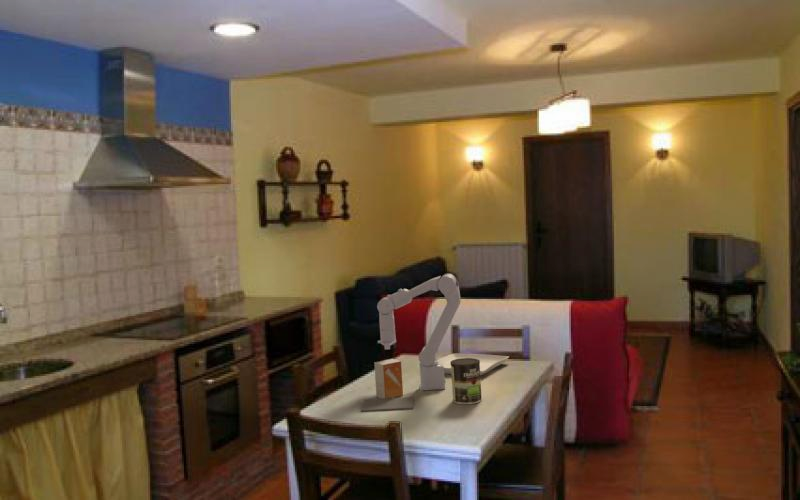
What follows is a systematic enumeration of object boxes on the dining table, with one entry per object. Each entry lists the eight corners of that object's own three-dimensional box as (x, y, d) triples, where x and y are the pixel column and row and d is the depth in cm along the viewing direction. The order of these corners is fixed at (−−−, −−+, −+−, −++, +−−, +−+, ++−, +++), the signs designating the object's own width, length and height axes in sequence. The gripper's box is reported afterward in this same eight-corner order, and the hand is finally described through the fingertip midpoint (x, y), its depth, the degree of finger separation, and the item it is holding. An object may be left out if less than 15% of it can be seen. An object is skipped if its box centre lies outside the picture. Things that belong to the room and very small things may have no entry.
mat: (413, 398, 262) (413, 396, 262) (413, 409, 249) (412, 407, 249) (364, 401, 262) (364, 399, 262) (360, 411, 249) (360, 410, 249)
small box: (385, 400, 262) (382, 364, 261) (376, 396, 267) (373, 362, 266) (403, 395, 267) (401, 360, 266) (394, 392, 272) (392, 358, 271)
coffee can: (487, 401, 252) (485, 361, 251) (462, 406, 248) (460, 366, 247) (471, 394, 262) (469, 356, 261) (447, 400, 257) (444, 361, 256)
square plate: (510, 364, 306) (510, 355, 306) (483, 380, 282) (483, 370, 282) (453, 360, 320) (452, 351, 320) (423, 375, 296) (422, 365, 296)
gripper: (378, 326, 284) (380, 360, 285) (375, 333, 269) (378, 369, 270) (396, 325, 283) (398, 359, 284) (394, 332, 269) (396, 368, 270)
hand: (389, 364), depth 277 cm, fingers closed
